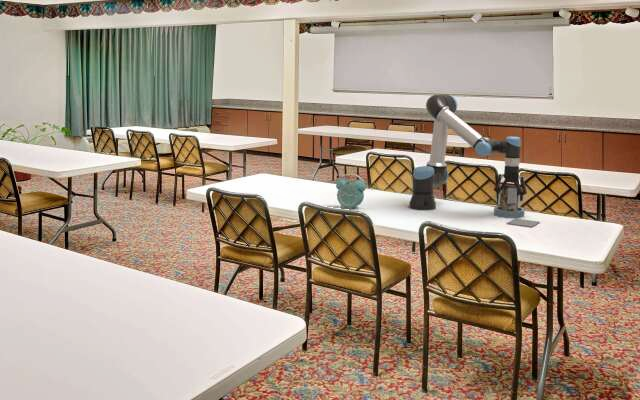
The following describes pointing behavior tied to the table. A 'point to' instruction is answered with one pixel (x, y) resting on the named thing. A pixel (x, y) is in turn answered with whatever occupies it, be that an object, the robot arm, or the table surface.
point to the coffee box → (509, 198)
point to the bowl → (508, 213)
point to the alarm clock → (350, 192)
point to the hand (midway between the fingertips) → (509, 205)
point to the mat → (523, 222)
